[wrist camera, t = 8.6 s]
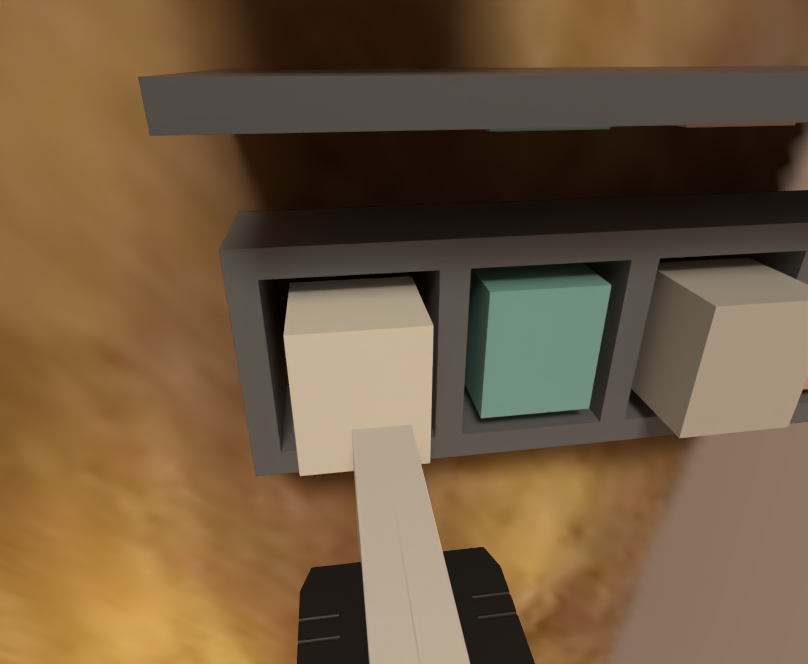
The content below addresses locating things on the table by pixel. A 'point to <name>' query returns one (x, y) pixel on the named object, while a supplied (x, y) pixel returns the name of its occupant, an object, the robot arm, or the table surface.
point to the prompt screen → (471, 99)
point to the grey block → (723, 347)
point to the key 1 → (356, 366)
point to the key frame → (450, 287)
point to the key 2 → (534, 337)
